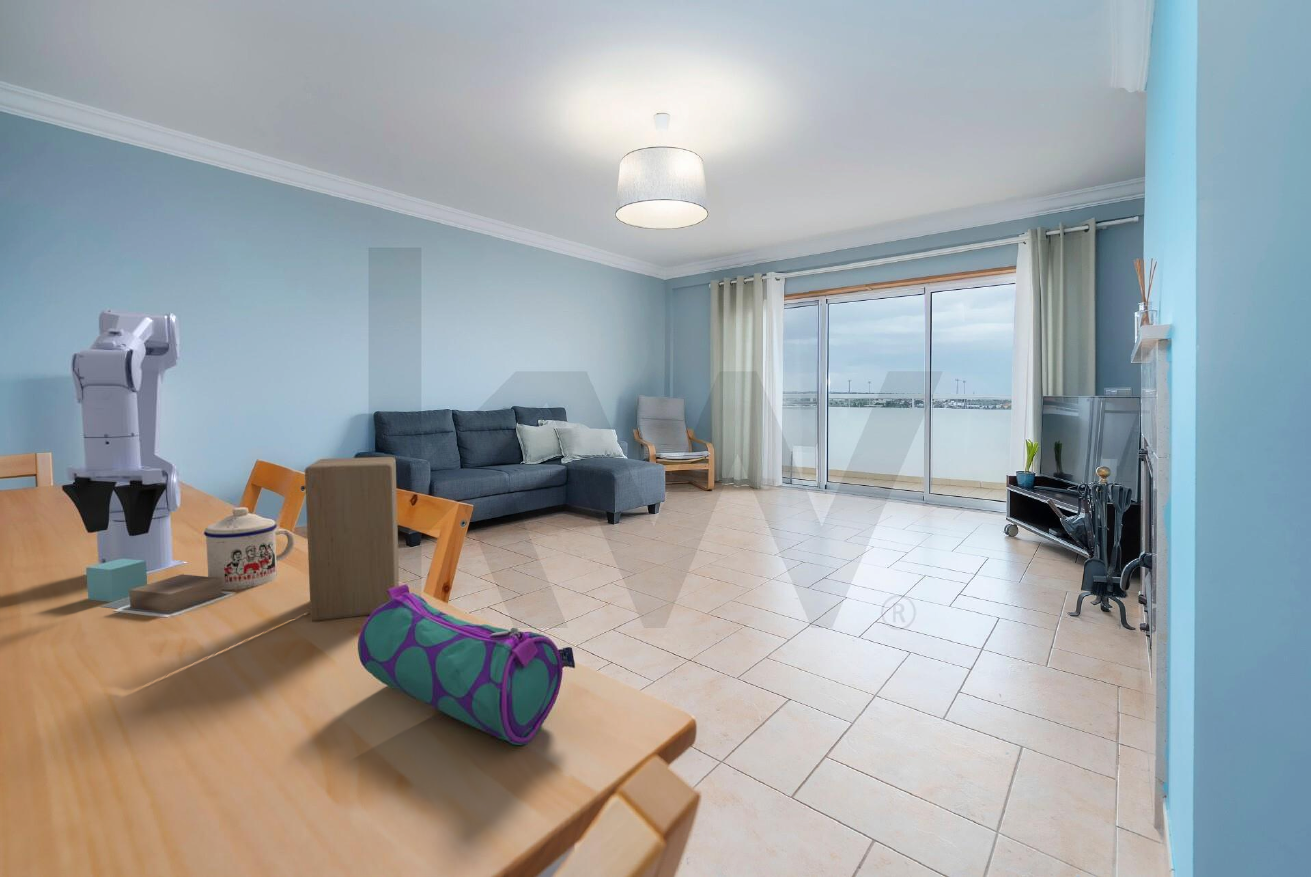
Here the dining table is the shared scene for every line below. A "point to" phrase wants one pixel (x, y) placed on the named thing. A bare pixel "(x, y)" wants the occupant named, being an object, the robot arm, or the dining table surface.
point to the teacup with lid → (244, 550)
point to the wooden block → (351, 535)
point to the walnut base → (175, 593)
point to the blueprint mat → (125, 607)
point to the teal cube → (115, 579)
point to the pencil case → (464, 666)
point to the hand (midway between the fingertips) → (118, 532)
